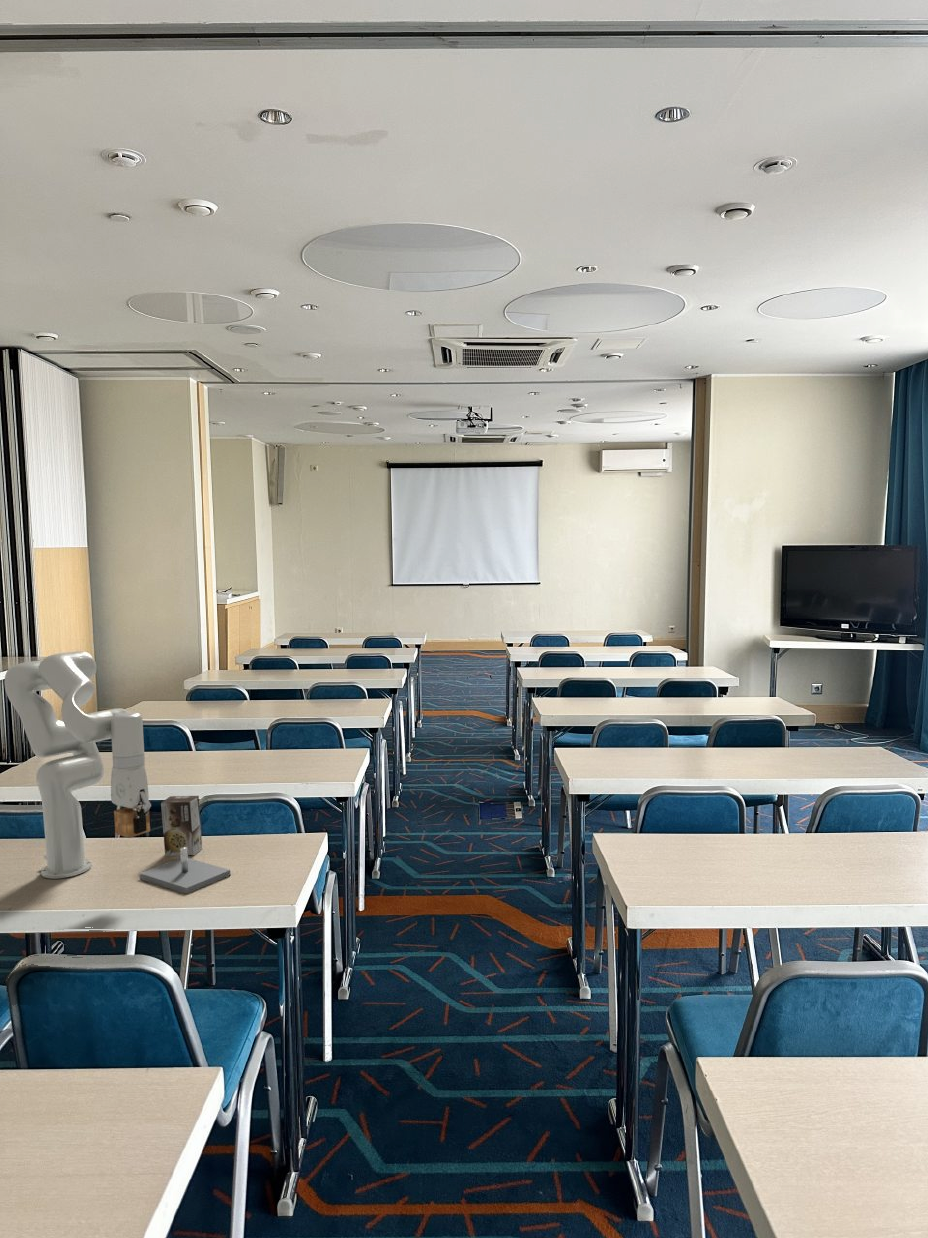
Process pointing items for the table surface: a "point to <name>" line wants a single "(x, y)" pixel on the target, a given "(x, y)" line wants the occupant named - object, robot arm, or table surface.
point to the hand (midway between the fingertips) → (132, 829)
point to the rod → (184, 859)
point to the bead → (127, 822)
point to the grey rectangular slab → (185, 875)
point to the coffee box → (181, 825)
